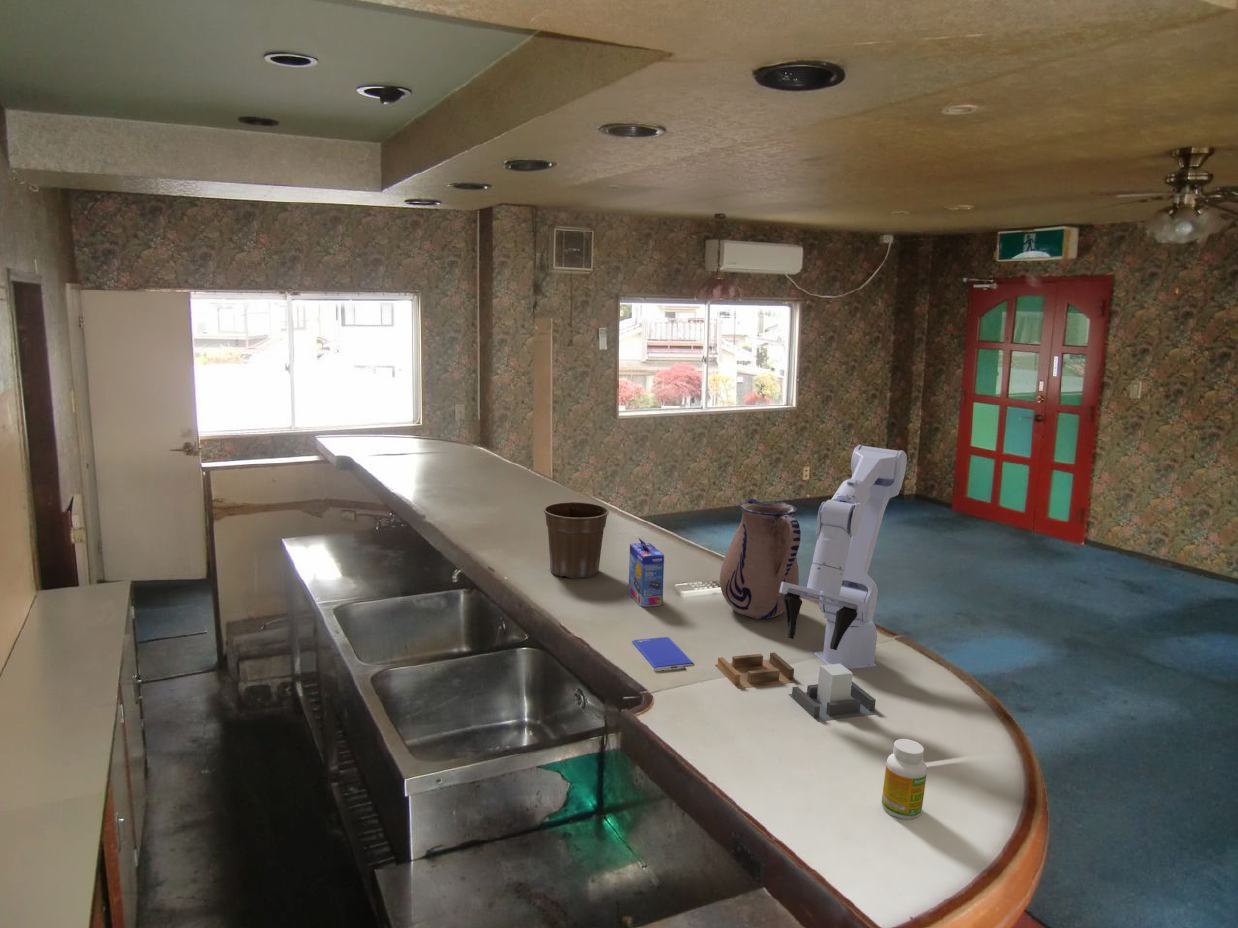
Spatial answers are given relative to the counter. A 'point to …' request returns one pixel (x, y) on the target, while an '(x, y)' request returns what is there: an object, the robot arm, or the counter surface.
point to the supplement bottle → (905, 780)
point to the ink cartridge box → (646, 574)
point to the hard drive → (661, 653)
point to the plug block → (834, 684)
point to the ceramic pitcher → (761, 559)
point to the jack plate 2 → (835, 704)
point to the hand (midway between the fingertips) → (811, 643)
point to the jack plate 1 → (756, 670)
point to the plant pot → (575, 538)
